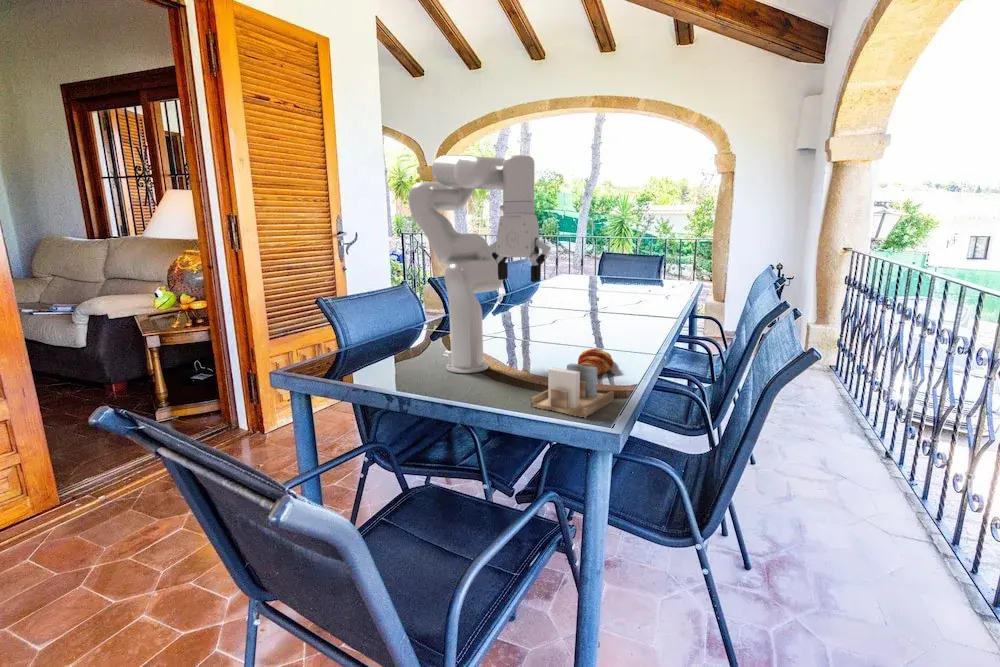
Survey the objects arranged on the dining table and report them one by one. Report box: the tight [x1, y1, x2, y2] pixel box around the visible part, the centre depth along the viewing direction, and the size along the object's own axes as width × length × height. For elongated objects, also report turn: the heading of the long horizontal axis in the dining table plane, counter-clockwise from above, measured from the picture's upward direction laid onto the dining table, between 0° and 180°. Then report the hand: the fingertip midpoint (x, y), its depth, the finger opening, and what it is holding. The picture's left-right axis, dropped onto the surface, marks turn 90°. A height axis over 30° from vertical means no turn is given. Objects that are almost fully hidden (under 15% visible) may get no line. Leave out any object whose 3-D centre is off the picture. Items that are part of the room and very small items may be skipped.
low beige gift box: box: [547, 367, 580, 408], centre depth 119 cm, size 7×2×8 cm, turn 54°
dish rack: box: [530, 362, 615, 418], centre depth 123 cm, size 14×15×8 cm
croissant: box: [577, 348, 614, 376], centre depth 151 cm, size 21×10×8 cm, turn 150°
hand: (518, 280), depth 130 cm, fingers open, 9 cm apart
